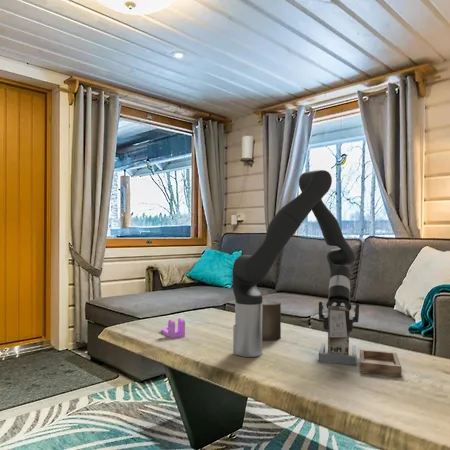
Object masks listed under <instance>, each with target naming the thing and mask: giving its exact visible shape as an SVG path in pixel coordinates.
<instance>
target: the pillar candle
mask: <svg viewBox="0 0 450 450" xmlns="http://www.w3.org/2000/svg"><path fill="white" fill-rule="evenodd" d="M281 311H282V308H281V302H280V301H276V300H270V299H268V300H262V341H277V340H280V339H282V338H281V337H282V335H281V334H282V332H281V331H282V330H281V329H282V326H281V325H282V323H281V320H282V318H281V316H282V315H281V314H282V313H281Z"/></svg>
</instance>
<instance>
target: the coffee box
mask: <svg viewBox="0 0 450 450" xmlns="http://www.w3.org/2000/svg"><path fill="white" fill-rule="evenodd" d="M327 311H328V331H327V353H331V354H342V355H350V354H349V351H350V350H349V349H350V346H349V345H350V343H349V342H350V333H349V312H350V311H351V310H350V311H349V309H348V308H347V306H328V308H327Z"/></svg>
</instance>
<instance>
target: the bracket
mask: <svg viewBox="0 0 450 450" xmlns="http://www.w3.org/2000/svg"><path fill="white" fill-rule="evenodd" d="M160 330H161V331H160V332H161V333H162V334H163V335H165V336H166V337H168V338H170V339H177V338H184V337H186V321H185V318H183V317H182V318H178V319H177V328H176V322H175V320H174V319H168V321H167V327H162V328H161V329H160Z"/></svg>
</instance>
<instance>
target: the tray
mask: <svg viewBox="0 0 450 450" xmlns="http://www.w3.org/2000/svg"><path fill="white" fill-rule="evenodd" d="M398 356H399V355H398V353H397V352H395V351H383V350H374V349H373V350H372V349H362V348H360V349H359V373H363V374H370V375H379V376H380V375H381V376H387V377H400V378H402V364H401V362H400V359H399V357H398Z"/></svg>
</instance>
